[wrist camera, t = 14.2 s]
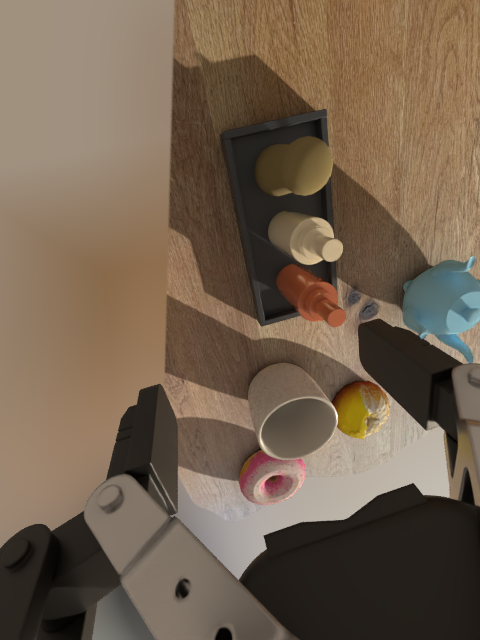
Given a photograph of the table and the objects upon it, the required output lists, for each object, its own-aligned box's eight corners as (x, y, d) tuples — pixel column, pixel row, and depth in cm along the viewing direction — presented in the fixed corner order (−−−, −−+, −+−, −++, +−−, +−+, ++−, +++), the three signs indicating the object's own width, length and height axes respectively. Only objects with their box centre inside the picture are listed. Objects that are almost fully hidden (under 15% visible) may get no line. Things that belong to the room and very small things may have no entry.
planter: (300, 344, 50) (329, 382, 40) (315, 396, 56) (344, 441, 46) (232, 371, 50) (246, 417, 40) (254, 421, 55) (271, 471, 46)
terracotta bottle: (268, 282, 44) (304, 321, 31) (294, 256, 43) (341, 285, 30) (291, 303, 46) (332, 347, 33) (315, 279, 45) (367, 315, 32)
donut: (305, 438, 60) (315, 458, 56) (294, 483, 65) (302, 505, 61) (240, 444, 57) (246, 465, 53) (234, 490, 63) (239, 514, 58)
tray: (219, 134, 35) (222, 131, 33) (318, 112, 36) (326, 108, 34) (257, 320, 47) (261, 326, 45) (331, 299, 48) (338, 305, 46)
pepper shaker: (290, 202, 39) (328, 208, 30) (248, 188, 38) (273, 190, 28) (306, 152, 37) (353, 141, 27) (262, 136, 36) (295, 117, 26)
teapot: (423, 335, 55) (471, 366, 46) (371, 312, 50) (414, 340, 41) (469, 273, 51) (532, 293, 42) (418, 241, 46) (476, 256, 37)
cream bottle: (260, 231, 40) (296, 252, 28) (287, 201, 39) (337, 210, 27) (284, 256, 42) (328, 286, 30) (310, 229, 41) (367, 248, 29)
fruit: (365, 426, 62) (378, 456, 54) (319, 410, 61) (325, 437, 54) (393, 384, 57) (411, 410, 50) (343, 366, 57) (354, 389, 50)
